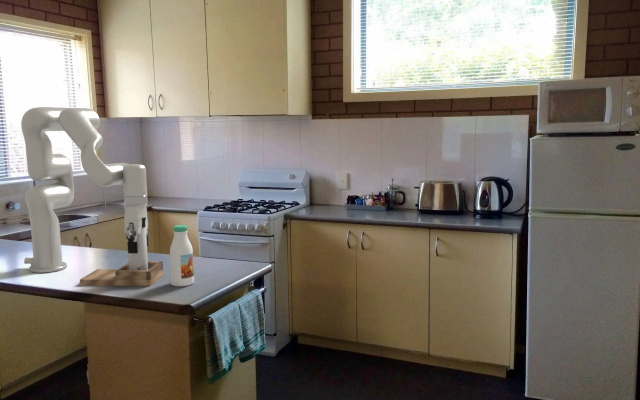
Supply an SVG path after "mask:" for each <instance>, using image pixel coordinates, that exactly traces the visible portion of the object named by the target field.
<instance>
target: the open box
mask: <svg viewBox="0 0 640 400" xmlns="http://www.w3.org/2000/svg"><path fill="white" fill-rule="evenodd" d="M163 263H164V261H149V260H148V271H146V270H129V262H127V263H126V264H124V265H122V266H121V267H119V268H118V269H117V268H115V269H113V268H110V269H109V268H104V269H102V268H99V269H98V268H97V269H95V270H94V271H91V272H90V273H88V274H87V275H85V276H84V277H82V278H80V279H79V285H80V286H106V287H107V286H108V287H110V286H115V287H117V286H118V287H120V286H121V287H122V286H123V287H128V286H129V287H134V286H135V287H151V286H152V285H153V284H154V283H156V282H158V280H160V279H161V278H162V277H163V276H164V266H163V265H164V264H163Z"/></svg>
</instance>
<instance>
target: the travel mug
mask: <svg viewBox="0 0 640 400" xmlns="http://www.w3.org/2000/svg"><path fill="white" fill-rule="evenodd" d="M145 220H146V217H144V218H142V228H141V234H139V235H137V240H136V241H137V244H138V253H128V252H127V257H128V258H127V259H128V263H129V270H146V271H148V261H149V259H148V247H147V239H146V225H145ZM132 230H134V227H133V229H132ZM131 233H136V232H135V231H131ZM133 237H134V236H133Z"/></svg>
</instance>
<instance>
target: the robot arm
mask: <svg viewBox="0 0 640 400" xmlns="http://www.w3.org/2000/svg"><path fill="white" fill-rule="evenodd" d="M100 121H101V120H100V117H99V115H98V114H97V112H96V111H95V110H93V109H91V108H87V107H86V108H81V107H51V106H40V107H39V106H38V107H33V108H29V109H28V110H26V111H25V112H24V114H23V115H22V117H21V122H20V124H21V125H20V126H21V132H22V136H23V139H24V143H25V155H26V156H25V157H26V166H27V174H28V176H29V178H30V180H33V181H36V182H44V181H52V182H51V183H45V184H44V183H43V184H38V185H33V186H32V187H30V188H29V189H28V190H27V191H26V193H25V194H24V195H25V196H24V199H25V200H24V201H25V203H26V207H27V211H28V215H29V223H30V233H31V234H30V235H31V246H32V257H25V258H24V260H23V264H26V265H28V264H29V265H30V266H29V268H28V269H29V272H31V273H37V274H38V273H39V274H41V273H42V274H43V273H53V272H58V271H61V270H64V269H66V268H67V267H68V264H67V262H65V261H63V256H62V255H63V253H62V245H61V244H62V243H61V242H62V241H61V227H60V220H59V217H58V216H57V214H56V213H55V211H54V210H55V209H56V210H57V209H60V208H65V207H68V206H70V205H71V204H72V203H73V201H74V199H75V185H74V183H75V182H74V170H73V165H72V162H71V160H70V159H69V158H68V157H67V156H66V155H64V154H63V153H62V154H61V153H53V146H52V141H51V139H50V138H49V136H48V135H47V133H46V132H65V133H66V134H67V136H68V137H69V138H70V139H71V141H73V143H74V144H75V146H76V147H77V148H78V149H79V151H80V163H81V166H82V169H83V171H84V172H85V173H86V174H87V175H88V177H89V178H90V179H91V180H92V181H93V182H94V184H96V185H97V186H100V187H103V188H107V187H112V186H121V185H122V186H123V203H124V216H123V217H124V218H123V219H124V221H123V222H124V227H123V228H124V229H123V230H124V235H126V236H125V237H126V242H127V254H128V253H138V244H137V241H136V240H137V235H139V234H141V228H142V218H144V217H146V220H145V225H146V239H147V248H148V247H149V231H148V230H149V218H148V209H147V206H148V203H149V202H148V200H149V199H148V184H147V183H148V182H147V168H146V166H145V165H144V164H140V163H131V164H130V163H127V162H115V163H104V162H103V161H102V160H101V158H99V156H98V155H97V153H96V151H97V150H98V149H100V147H101V146H102V144H103V142H104V138H103V136H102V135H101V134H100V133H99V131H98V129H99V127H100V124H101V122H100ZM133 227H134V230H132V229H133ZM131 231H135V232H136V233H131ZM133 236H134V237H133Z"/></svg>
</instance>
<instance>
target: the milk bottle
mask: <svg viewBox="0 0 640 400" xmlns="http://www.w3.org/2000/svg"><path fill="white" fill-rule="evenodd" d="M172 229H173V230H172V231H173V240H172V241H171V244H170V248H169V271H170V273H169V274H170V285H171V286H173V287H187V286H191V285H194V283H195V269H194V268H195V267H194V249H193V245H192V243H191V242H190V239H189V236H188V225H185V224H177V225H174V226H172Z"/></svg>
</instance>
